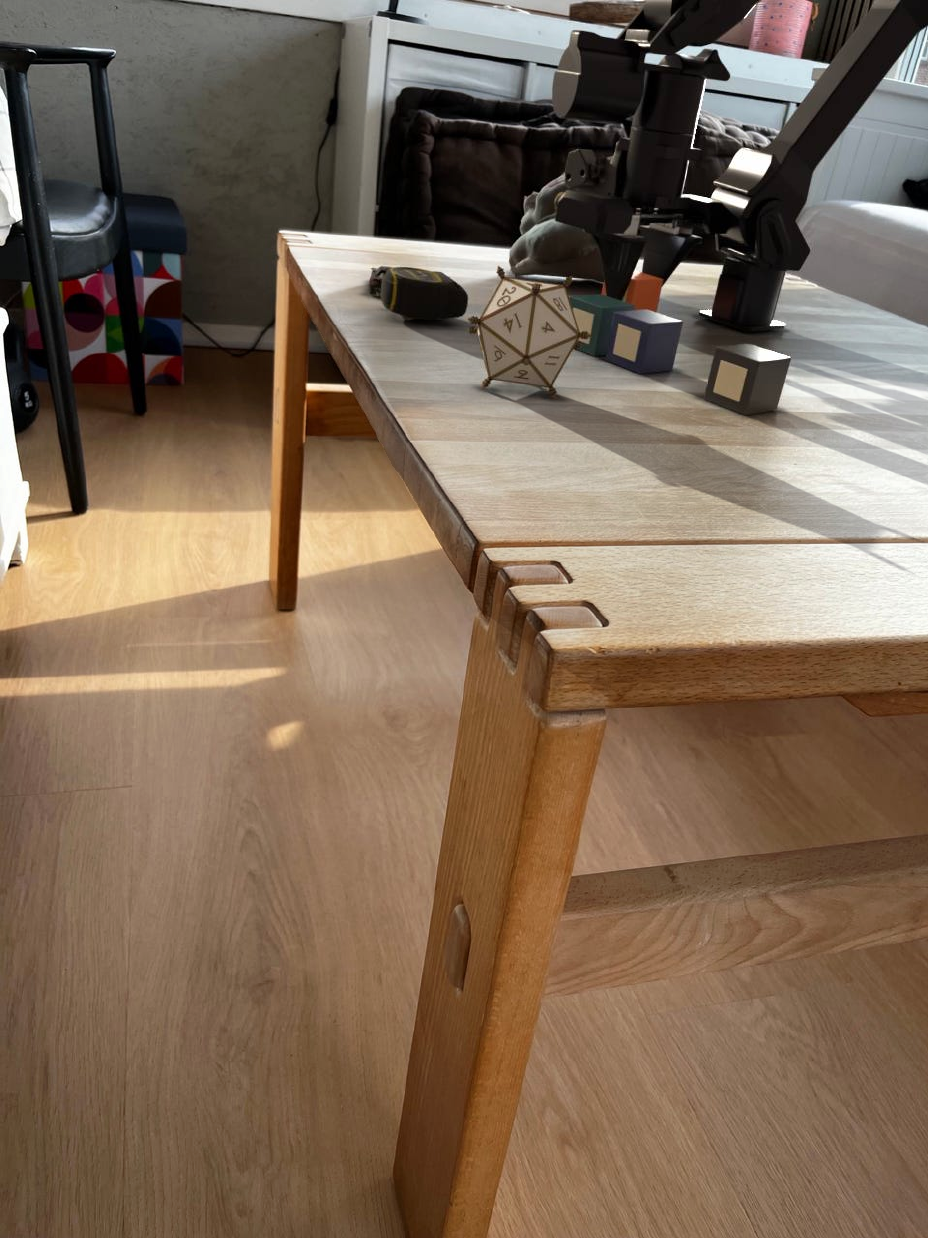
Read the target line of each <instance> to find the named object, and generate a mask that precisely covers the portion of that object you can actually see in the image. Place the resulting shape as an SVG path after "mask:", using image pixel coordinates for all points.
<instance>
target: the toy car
mask: <svg viewBox="0 0 928 1238" xmlns="http://www.w3.org/2000/svg"><path fill="white" fill-rule="evenodd" d="M394 267H395V266H387V265H382V266H381V265H380V266H379V267H372V268H371V270H372V271H371V270H370V271H371V275H370V277H369V281H368V290H369V294H370V295H376V296H377V293H379V294H381V285H382V280H383V277H384V276H385V274H386V271H387V270H388V269H391V268H394Z"/></svg>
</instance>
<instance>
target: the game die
mask: <svg viewBox="0 0 928 1238" xmlns="http://www.w3.org/2000/svg"><path fill="white" fill-rule="evenodd" d="M504 270H505V269H504V268H502V267H501V266H499V265H497V270H496V274H497V277H499V279H500V280H499V282H498V283H497V286H496V287H495V289H494V291H493V292H492V294H491V296H490V298H489V300H488V301H487V303H486V305H485V306H484V309H483V311H482V312H481V314H480V316H479V317H478V316H475V315H472V316H471V317H469V318H467V321H469V323H470V325H472V326H469V327H468V328H467V329H466V331H467V332H468V333H469V334H470V335H472V334H473V335H475V334H476V336H477V339H478V343H479V347H480V350H481V355H482V358H483V362H484V366H485V369H486V373H487V378H484V380H483V381H482V387H481V390H483V389H486V388H489V386H490V385H491V382H492V381H496V382H503V383H504V382H505V383H511V384H517V385H518V384H519V385H526V386H535V387H540V388H547V389H548V391H547V392H548V393H549V396H551V397H552V398H553V399H556V398H557V393H558V391H557V390H556V388H555V387H554V384H555V382H556V381H557V378H558V377H559V375H560V373H561V371H562V370H563V368H564V366H565V364H566V363H567V361H568V359H569V357H570V355H572V352H573V351H574V349H575V347H576V349H575V350H577V348H578V347H580V346H582V345H581V343H580V342H579V341H578V340H579V338H582V339H585V340H586V339H588V338H589V337H590V336H591V335H590V334H589V333H588V332H587V331H586V332H584V331H583V332H581V333H580V331H579V328H578V325H577V322H576V318H575V315H574V312H573V309H572V306H571V303H570V299H569V296H570V295H569V294H568V290H567V288H568V287H570V286H571V284H573V278H572V276H570V277H568V278H567V277H565V279H564V280H563V283H562V284H560V283H553V282H546V281H539V280H533V279H532V280H530V279H526V278H525V279H524V278H518V277H516V278H515V277H509V276H506V275H505V273H506V272H505V271H504ZM473 325H476V326H473Z"/></svg>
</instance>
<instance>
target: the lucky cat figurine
mask: <svg viewBox="0 0 928 1238" xmlns="http://www.w3.org/2000/svg"><path fill="white" fill-rule="evenodd" d="M566 190H576V188H568V187H567V185H566V183H565V171H564V172H563V173H562V174H561V175H560V176H559V177H557V178H555V179H553V180H552V181H550V182H549V183H547V184H546V185H545V186H543V187H542V188H541V190H540V191H539V192H537V191H532V193H531V194H530V195H528V196H527V195H524V197H523V199H524V200H523V211H524V215H523V216H522V218H521V220H520V222H521V223H520V226H519V232H520V234H521V236H520V237H519V238H518V239H517V240H516V241H515V242H514V243H513V244H512V246H511V247H510V249H509V251H508V252H509V253H508V256H509V257H508V258H509V259H508V264H509V267H510V272H511V274H512V275H513V276H514V278H519V277H522V276H543V277H545V276H547V277H556V278H566V277H567V278H568V277H570V276H572V279H579V280H589V281H590V280H592V281H595V282H598V283H601V284H604V274H603V267H602V261H601V256H600V252H599V248H598V246H597V244H596V243H595V241H594V240H593V238H592V237H591V235H590V234H588V233H585V232H584V231H583V229H581V228H577V227H574V226H570V225H567V224H563V223H560V222H556V221H555V218H556V212H557V205H558V199H559V198H560V197H561V196H562V195H563V194H564V193H565V191H566Z"/></svg>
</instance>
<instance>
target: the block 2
mask: <svg viewBox="0 0 928 1238" xmlns="http://www.w3.org/2000/svg"><path fill="white" fill-rule="evenodd" d="M683 324H684V321H682V320H680V319H677V318H673V317H671V316H668V315H665V314H661V313H659V312H657V313H656V312H653V311H650V310H647V309H646V310H631V311H616V312H614V316H613V321H612V327H611V332H610V337H609V342H608V347H607V353H606V355H605V359H604V360H605V361H606V362H609V363H611V364H614V365H615V366H618V367H622V368H624V369H627V370H629V371H631V372H634V373H636V374H639V375H644V374H652V373H659V372H668V371H673V369H674V364H675V361H676V360H675V359H676V356H677V351H678V346H679V342H680V337H681V332H682V329H683Z"/></svg>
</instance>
